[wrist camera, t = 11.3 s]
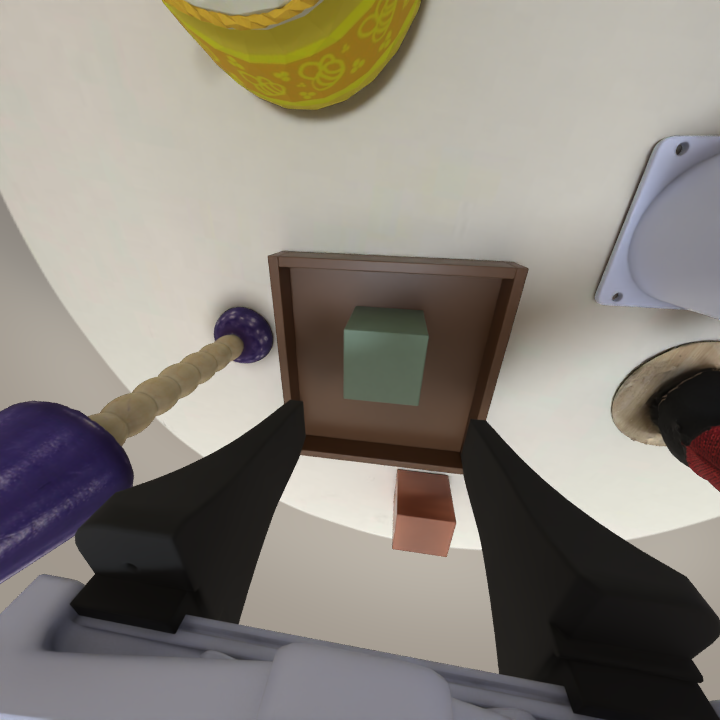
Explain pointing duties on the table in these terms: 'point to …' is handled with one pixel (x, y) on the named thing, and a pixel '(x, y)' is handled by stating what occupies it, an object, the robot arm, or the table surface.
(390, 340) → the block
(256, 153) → the table surface
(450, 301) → the tray
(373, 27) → the mug
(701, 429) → the figurine
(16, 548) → the toy lamp
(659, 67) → the table surface
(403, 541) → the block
